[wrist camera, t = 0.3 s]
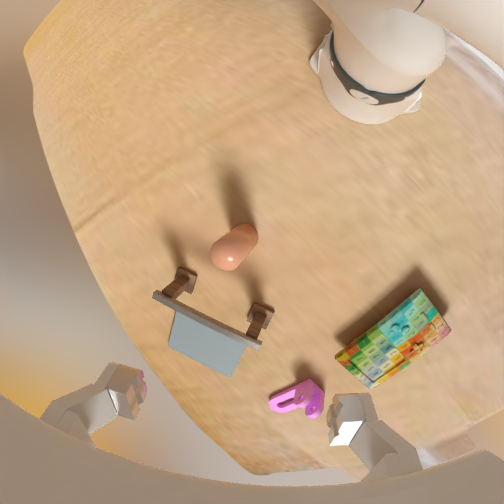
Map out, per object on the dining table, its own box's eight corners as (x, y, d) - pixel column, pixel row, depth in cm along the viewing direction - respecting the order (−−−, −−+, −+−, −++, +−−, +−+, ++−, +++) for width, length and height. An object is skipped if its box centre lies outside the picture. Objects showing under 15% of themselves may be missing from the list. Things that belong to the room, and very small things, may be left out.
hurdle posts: (179, 266, 53) (158, 283, 46) (274, 311, 51) (265, 335, 44) (175, 283, 55) (154, 301, 48) (266, 327, 53) (256, 352, 45)
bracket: (310, 377, 54) (307, 400, 48) (324, 392, 55) (322, 414, 48) (265, 398, 59) (258, 419, 53) (280, 411, 60) (274, 432, 53)
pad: (178, 308, 57) (176, 310, 56) (247, 342, 55) (246, 345, 54) (169, 344, 61) (167, 346, 60) (231, 375, 59) (230, 377, 58)
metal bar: (156, 289, 47) (153, 292, 46) (262, 341, 44) (260, 345, 43) (155, 294, 47) (152, 297, 46) (259, 346, 45) (258, 350, 44)
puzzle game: (453, 333, 39) (370, 392, 47) (445, 320, 43) (369, 377, 51) (423, 292, 39) (334, 362, 47) (416, 281, 43) (335, 347, 51)
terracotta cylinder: (237, 219, 48) (215, 233, 38) (262, 230, 47) (246, 247, 38) (228, 243, 49) (206, 262, 40) (252, 253, 49) (235, 275, 40)
